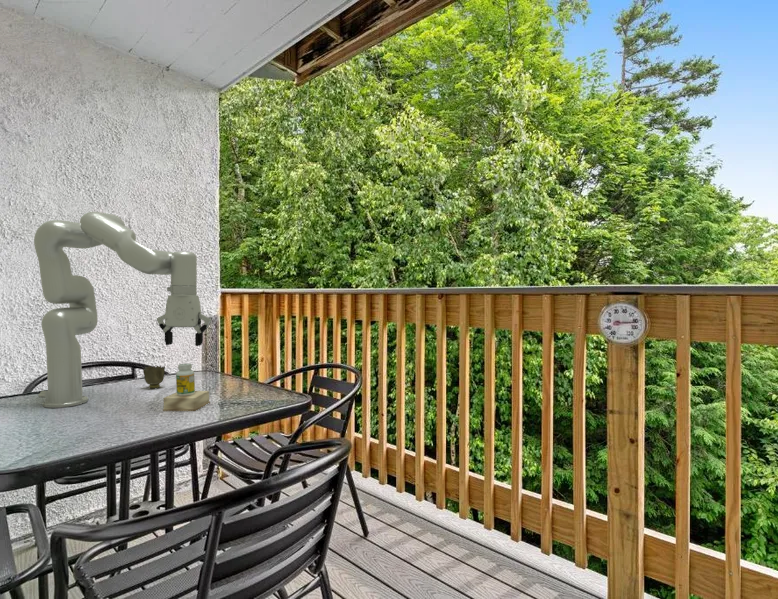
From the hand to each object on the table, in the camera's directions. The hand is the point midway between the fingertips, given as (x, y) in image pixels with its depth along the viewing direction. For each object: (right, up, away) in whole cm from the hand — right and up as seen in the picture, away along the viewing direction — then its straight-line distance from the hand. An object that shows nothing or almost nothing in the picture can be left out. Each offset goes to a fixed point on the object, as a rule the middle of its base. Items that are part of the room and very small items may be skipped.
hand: (183, 345), depth 158 cm
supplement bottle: (0, -16, +1) cm, 16 cm away
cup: (-23, -19, +30) cm, 42 cm away
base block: (+1, -20, +1) cm, 20 cm away
